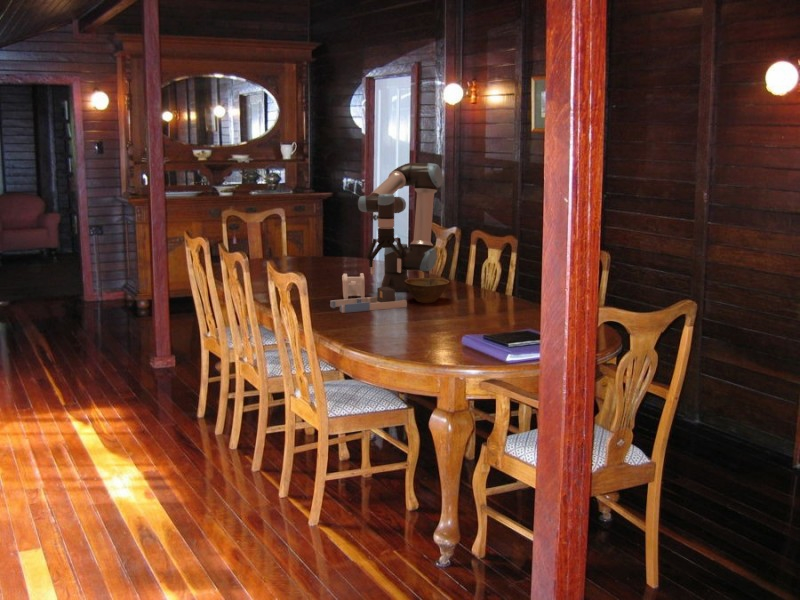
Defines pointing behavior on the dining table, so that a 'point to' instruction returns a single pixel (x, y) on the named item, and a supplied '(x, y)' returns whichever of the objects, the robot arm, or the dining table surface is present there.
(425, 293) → the bowl
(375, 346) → the dining table surface
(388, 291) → the dark brown block
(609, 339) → the dining table surface
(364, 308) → the slotted rail
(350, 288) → the cable organizer
